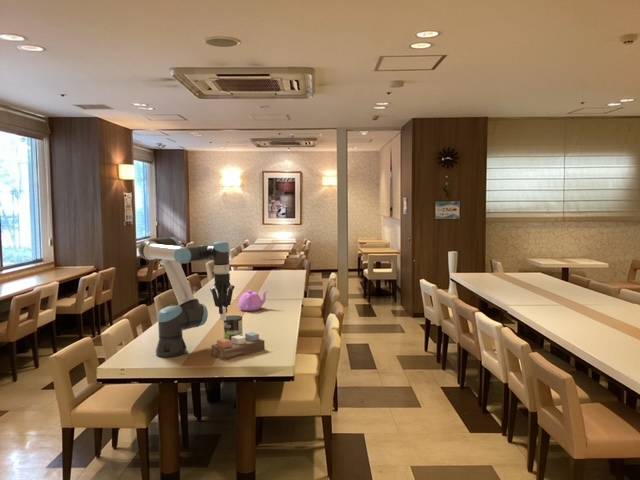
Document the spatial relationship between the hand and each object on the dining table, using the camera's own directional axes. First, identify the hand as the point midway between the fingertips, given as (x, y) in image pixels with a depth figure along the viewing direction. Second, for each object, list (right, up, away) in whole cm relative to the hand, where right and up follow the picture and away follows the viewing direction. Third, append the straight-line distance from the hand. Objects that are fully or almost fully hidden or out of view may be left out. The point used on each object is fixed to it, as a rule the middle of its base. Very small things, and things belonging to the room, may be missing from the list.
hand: (223, 319), depth 250 cm
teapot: (+1, -10, +110) cm, 111 cm away
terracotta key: (0, -13, +1) cm, 13 cm away
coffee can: (+1, -17, +25) cm, 30 cm away
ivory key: (+6, -13, +7) cm, 16 cm away
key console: (+7, -18, +7) cm, 20 cm away
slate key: (+13, -12, +12) cm, 22 cm away
